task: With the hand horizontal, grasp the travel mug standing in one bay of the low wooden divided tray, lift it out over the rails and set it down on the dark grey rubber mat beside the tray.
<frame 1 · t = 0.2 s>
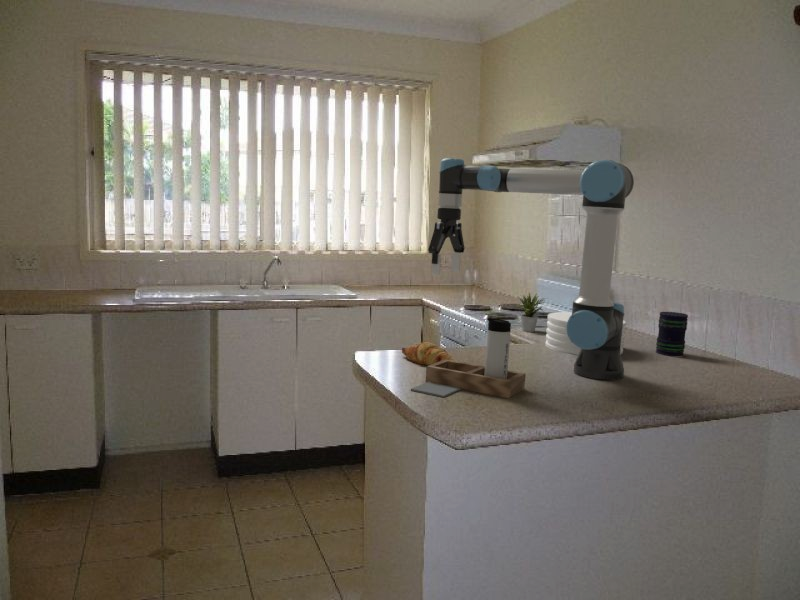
hand: (445, 273, 229), 28 cm above the counter, tool pointing down, fingers open, 13 cm apart
wooden divided tray: (474, 385, 197), on the counter
mat: (435, 390, 190), on the counter
plate stack: (583, 349, 261), on the counter
house plant: (529, 331, 290), on the counter
storage jar: (669, 354, 259), on the counter
croissant: (427, 363, 223), on the counter
travel mug: (494, 390, 195), resting in wooden divided tray
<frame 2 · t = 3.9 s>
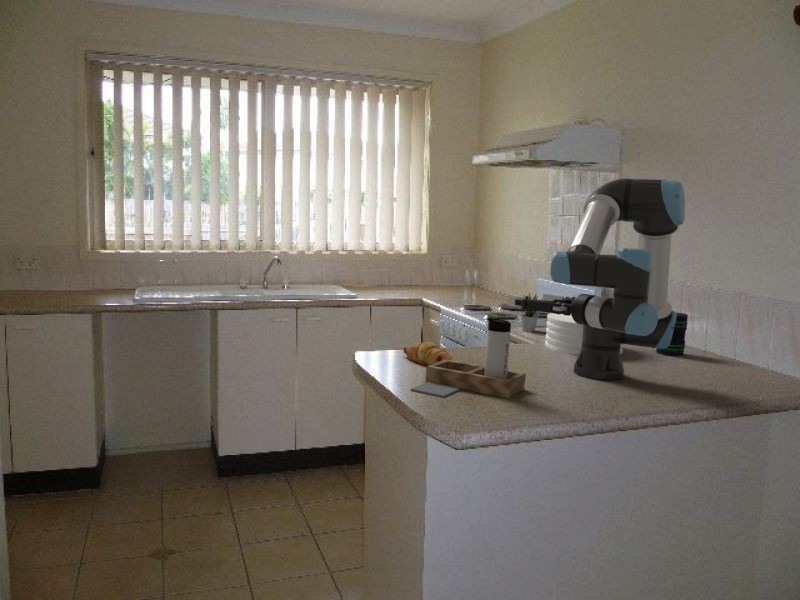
hand: (526, 299, 184), 26 cm above the counter, tool horizontal, fingers open, 13 cm apart
nothing on the counter moved.
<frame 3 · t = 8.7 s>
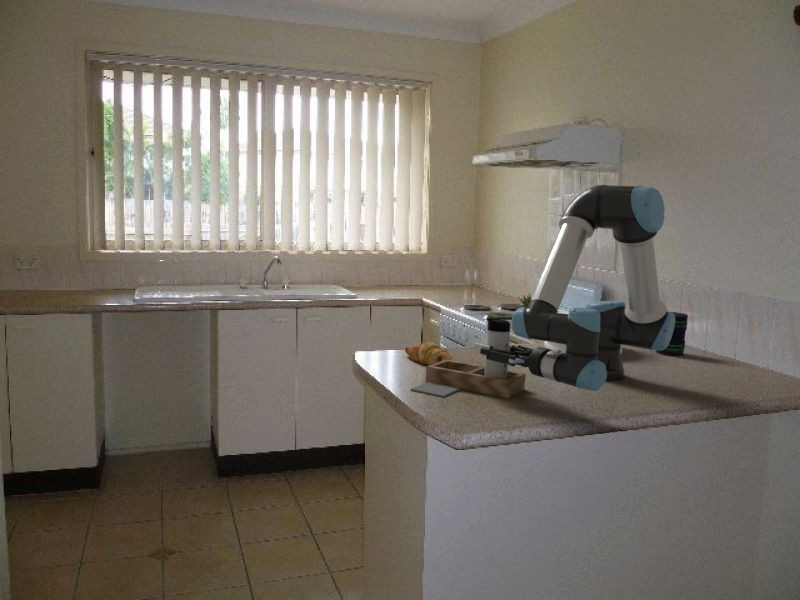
hand: (483, 346, 197), 11 cm above the counter, tool horizontal, fingers closed on travel mug, 6 cm apart
travel mug: (494, 389, 195), resting in wooden divided tray, touching gripper
everything else where it was.
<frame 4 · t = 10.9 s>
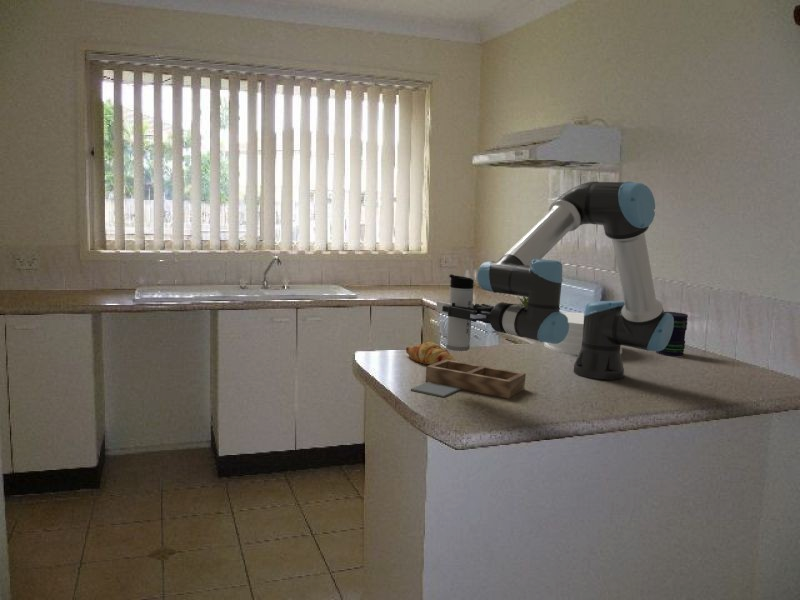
hand: (446, 305, 192), 23 cm above the counter, tool horizontal, fingers closed on travel mug, 6 cm apart
travel mug: (457, 349, 189), point 11 cm above the counter, touching gripper
everything else where it was.
when the fingers open (12 cm above the counter, at t = 13.4 s): travel mug stays where it is, resting on mat.
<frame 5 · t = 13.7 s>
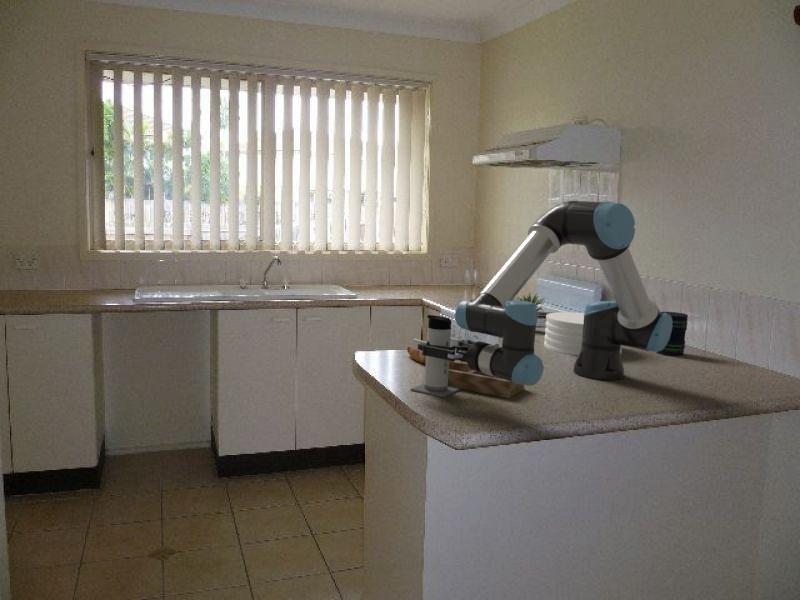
hand: (428, 342, 192), 12 cm above the counter, tool horizontal, fingers open, 10 cm apart
travel mug: (435, 389, 190), resting on mat
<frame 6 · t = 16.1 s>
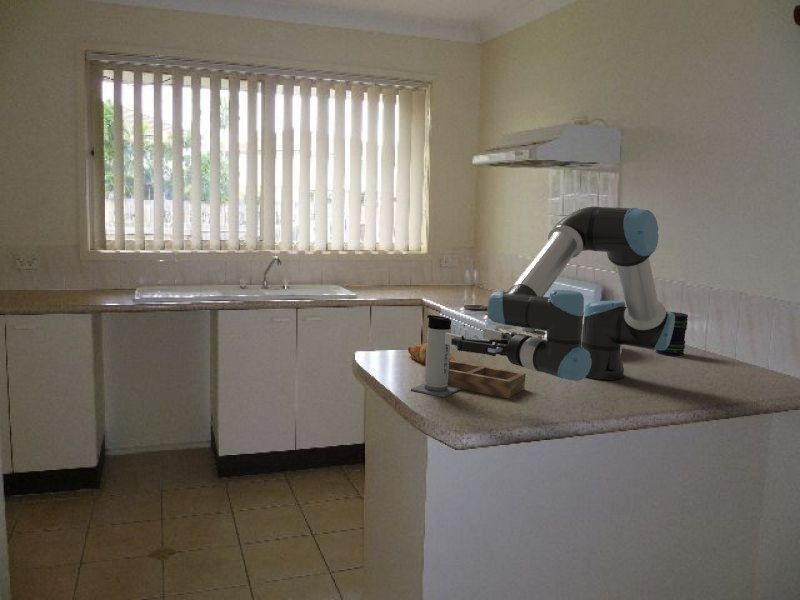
hand: (465, 335, 181), 17 cm above the counter, tool horizontal, fingers open, 13 cm apart
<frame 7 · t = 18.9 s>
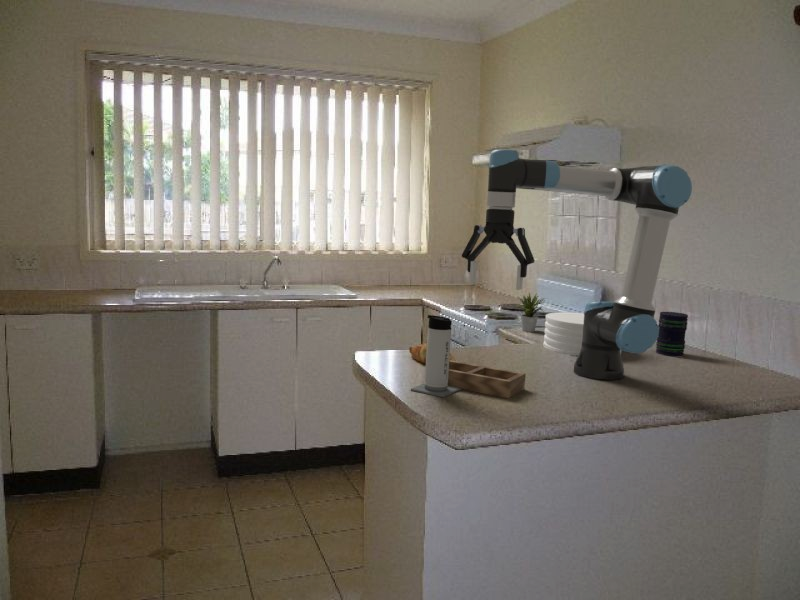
hand: (495, 287, 191), 28 cm above the counter, tool pointing down, fingers open, 13 cm apart
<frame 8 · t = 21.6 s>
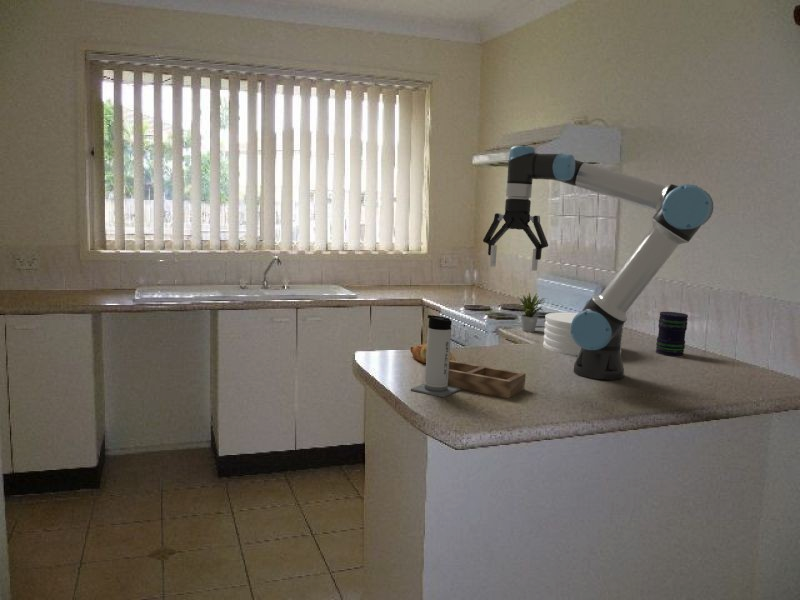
hand: (513, 268, 215), 32 cm above the counter, tool pointing down, fingers open, 13 cm apart
at the end: travel mug inside the target area on the mat (0.3 cm from its centre), point 0.3 cm above the mat's base; travel mug tilted 0°; the gripper is holding nothing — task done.
